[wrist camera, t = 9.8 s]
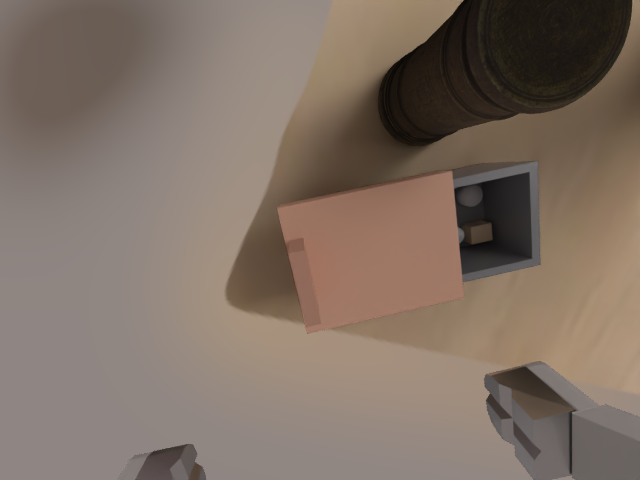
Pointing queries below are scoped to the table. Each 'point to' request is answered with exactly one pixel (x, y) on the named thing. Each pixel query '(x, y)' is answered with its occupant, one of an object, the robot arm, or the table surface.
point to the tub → (497, 217)
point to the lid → (374, 250)
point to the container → (501, 64)
